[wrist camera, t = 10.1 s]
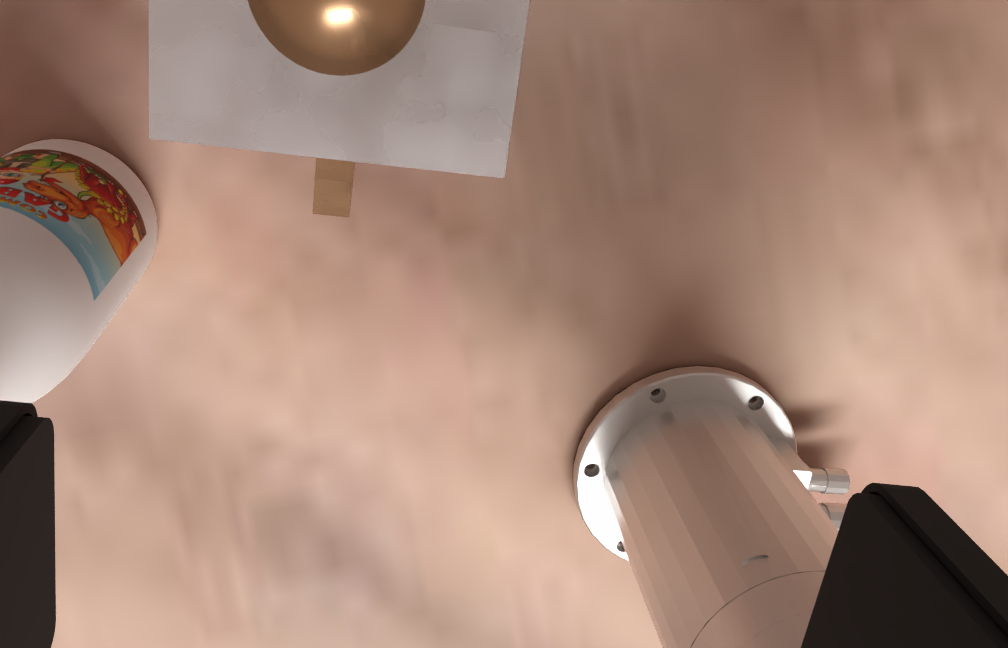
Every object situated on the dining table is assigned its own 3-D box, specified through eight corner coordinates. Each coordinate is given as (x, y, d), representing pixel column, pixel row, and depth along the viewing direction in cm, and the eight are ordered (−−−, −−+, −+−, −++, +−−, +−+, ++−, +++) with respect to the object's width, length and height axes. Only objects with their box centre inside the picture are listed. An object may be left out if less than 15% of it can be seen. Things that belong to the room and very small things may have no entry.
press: (493, -154, 39) (559, -206, 25) (456, 150, 44) (492, 258, 29) (239, -198, 38) (148, -281, 23) (229, 124, 42) (149, 225, 28)
